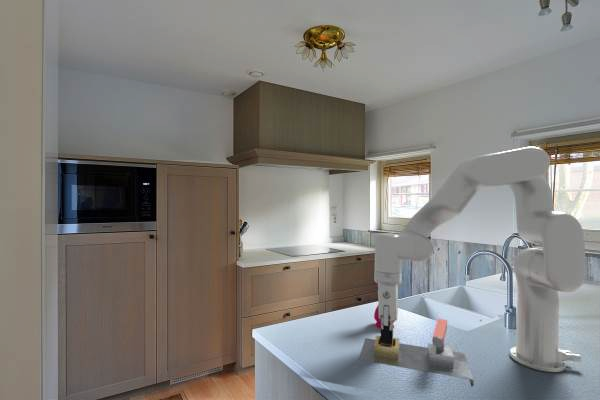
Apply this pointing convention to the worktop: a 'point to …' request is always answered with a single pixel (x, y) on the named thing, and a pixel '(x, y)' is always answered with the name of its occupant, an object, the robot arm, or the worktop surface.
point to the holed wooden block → (386, 348)
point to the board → (422, 359)
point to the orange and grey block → (439, 334)
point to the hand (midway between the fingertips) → (386, 339)
